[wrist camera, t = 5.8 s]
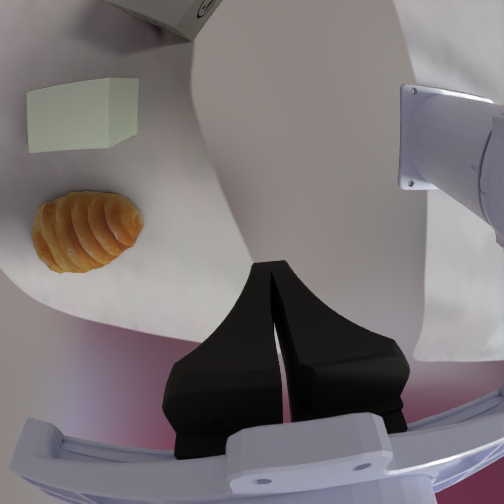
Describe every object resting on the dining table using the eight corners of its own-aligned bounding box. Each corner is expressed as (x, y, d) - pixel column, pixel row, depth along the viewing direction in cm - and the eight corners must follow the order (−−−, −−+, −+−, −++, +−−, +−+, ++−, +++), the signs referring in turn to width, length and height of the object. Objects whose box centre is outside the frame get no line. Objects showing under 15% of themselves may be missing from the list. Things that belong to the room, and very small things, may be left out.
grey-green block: (139, 78, 17) (109, 77, 13) (137, 134, 19) (108, 148, 15) (66, 86, 17) (26, 91, 13) (67, 137, 19) (29, 153, 15)
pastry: (129, 167, 21) (109, 184, 17) (158, 246, 24) (145, 273, 21) (40, 201, 21) (15, 220, 18) (70, 267, 25) (52, 291, 21)
